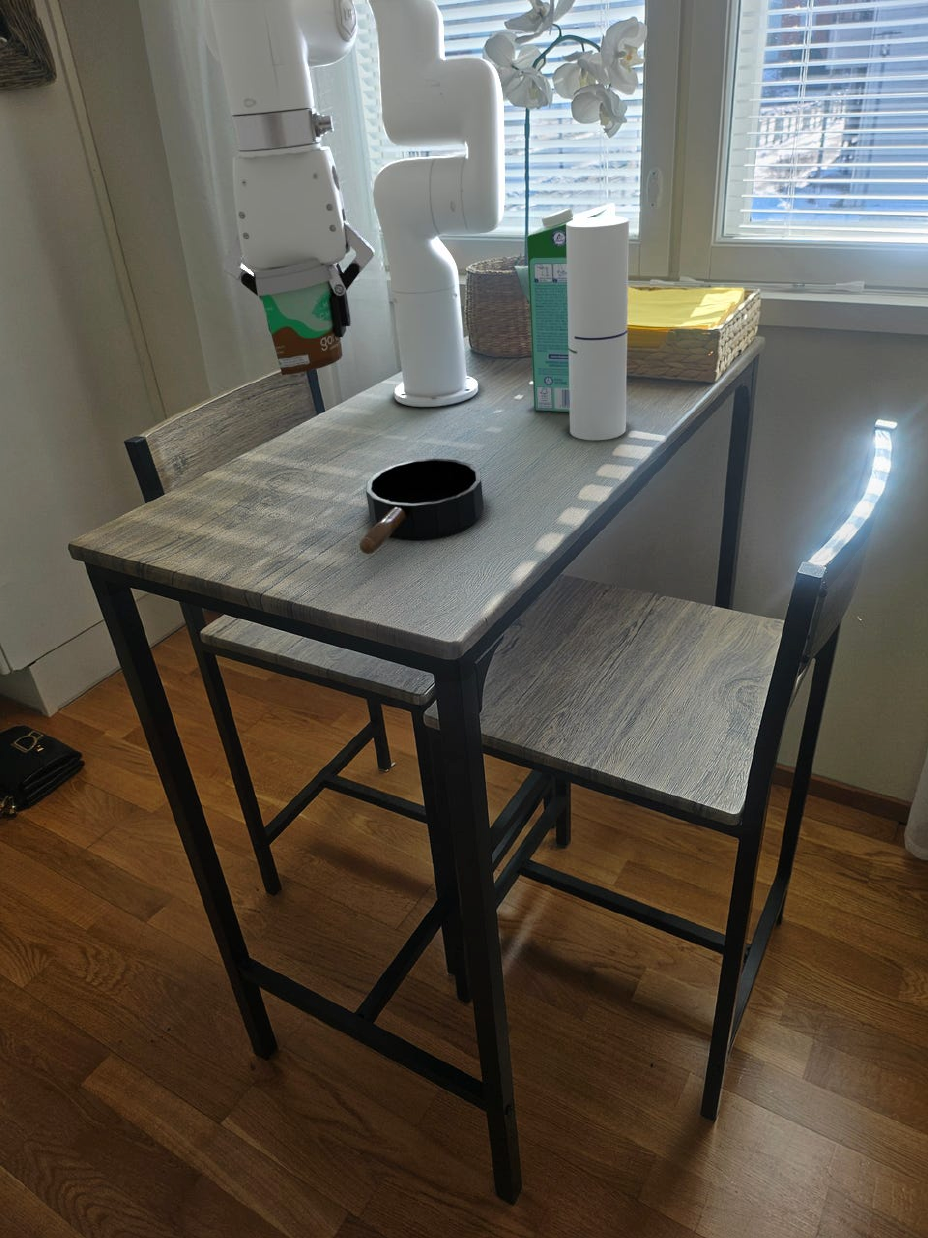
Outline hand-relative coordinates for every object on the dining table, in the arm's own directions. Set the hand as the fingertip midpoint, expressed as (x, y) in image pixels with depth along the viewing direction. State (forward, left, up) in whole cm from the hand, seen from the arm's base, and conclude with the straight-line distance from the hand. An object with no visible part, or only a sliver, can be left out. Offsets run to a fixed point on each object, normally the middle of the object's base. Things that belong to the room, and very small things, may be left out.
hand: (311, 334), depth 90 cm
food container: (0, +1, -3) cm, 3 cm away
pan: (+7, +9, -19) cm, 22 cm away
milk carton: (-31, +29, -20) cm, 47 cm away
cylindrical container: (-19, +31, -20) cm, 41 cm away
